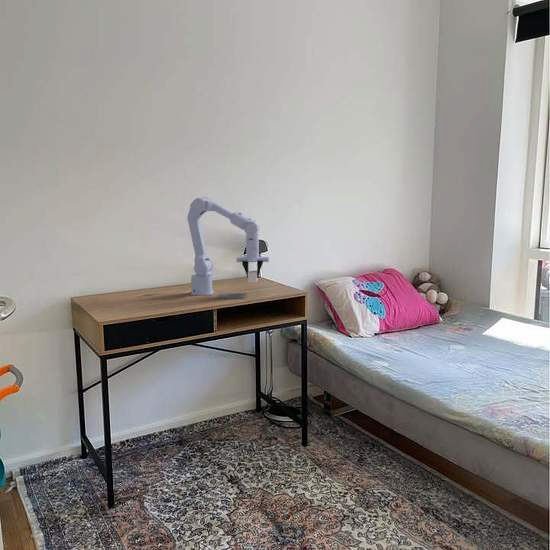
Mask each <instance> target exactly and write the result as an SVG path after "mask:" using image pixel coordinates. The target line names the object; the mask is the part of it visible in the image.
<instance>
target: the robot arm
mask: <svg viewBox="0 0 550 550" xmlns="http://www.w3.org/2000/svg"><path fill="white" fill-rule="evenodd" d="M206 212H214V213H217V214H219V215H221V216H223V217H225V218H226V219H228V220H229V221H230V224H232V225H233V226H235V227H237V228H238V229H240V230H242V231H244V233H245V256H243V257H242V256H241V257H240V256H239V257H236V263H241V264H242V267H243V269H244V271H245V275H246V279H248V271H249V263H256V267H257V269H256V270H257V278H258V279H259V278H260V273H261V269H262V267H263V263H269V262H270V261H269V259H270V258H269V257H268V256H267V257H266V256H260V247H259V246H260V245H259V242H260V239H259V238H260V237H259V231H260V225H259V223H258V222H257V221H256V220H252V218H250V217H246V216H245V215H243V212H240V211H239V212H238V211H236V212H233V211H230V210H229V209H227V208H226V207H224V206H222V205H221V204H219V203H218V202H216V201H214V200H213V199H210V198H208V197H206V196H205V197H204V196H203V197H196V198H195V199H194V200H193V201H191V203H190V205H189V210H188V212H187V213H188V214H187V216H186V217H187V218H186V219H187V223H188V227H189V232H190V236H191V240H192V241H191V242H192V247H193V251H194V254H195V255H194V260H193V261H194V267H193V271H194V272H195V274H191V278H190V287H191V288H190V289H191V296H212V295H214V292H215V290H213V277H212V275H213V273H212V272H211V271H212V269H213V267H214V265H213V262H212V260H211V258H210V255H209V253H208V252H207V249H206V244H205V243H206V242H205V240H204V235H203V230H202V225H201V221H200V219H201V218H202V216H203V215H204V214H205V213H206Z"/></svg>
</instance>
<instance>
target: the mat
mask: <svg viewBox="0 0 550 550" xmlns="http://www.w3.org/2000/svg"><path fill="white" fill-rule="evenodd" d="M246 294H247V293H246V292H230V293H229V292H227V293H223V292H222V293H219V294H218V295H217V297H216V298H217V299H245V297H246Z"/></svg>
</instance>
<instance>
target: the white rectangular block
mask: <svg viewBox="0 0 550 550" xmlns="http://www.w3.org/2000/svg"><path fill="white" fill-rule="evenodd" d="M258 280H259V278H257V269H248V278H247V284H249V283H250V284H252V283H255V284H257V283H258Z"/></svg>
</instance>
